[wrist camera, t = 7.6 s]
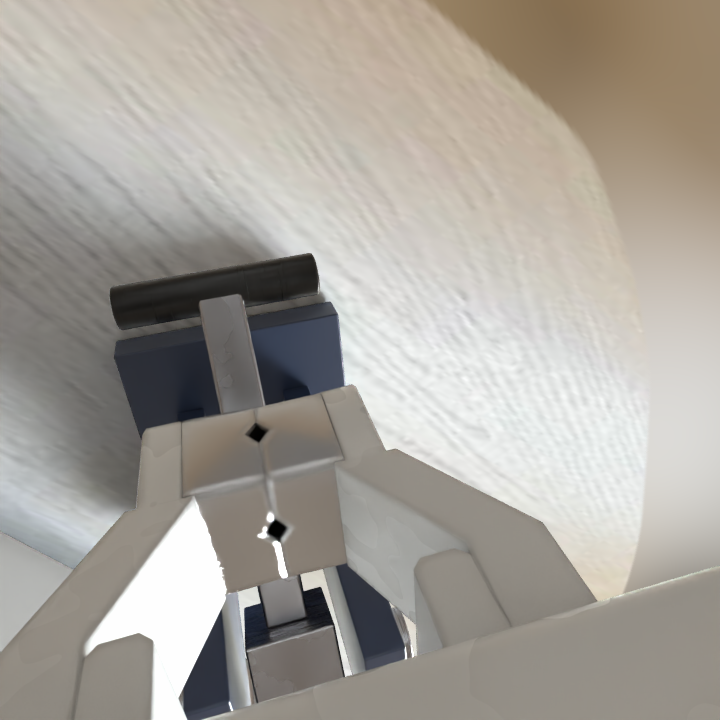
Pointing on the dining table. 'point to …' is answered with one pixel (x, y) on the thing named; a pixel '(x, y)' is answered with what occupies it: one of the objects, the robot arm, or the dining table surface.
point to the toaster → (32, 588)
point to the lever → (236, 392)
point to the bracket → (279, 383)
